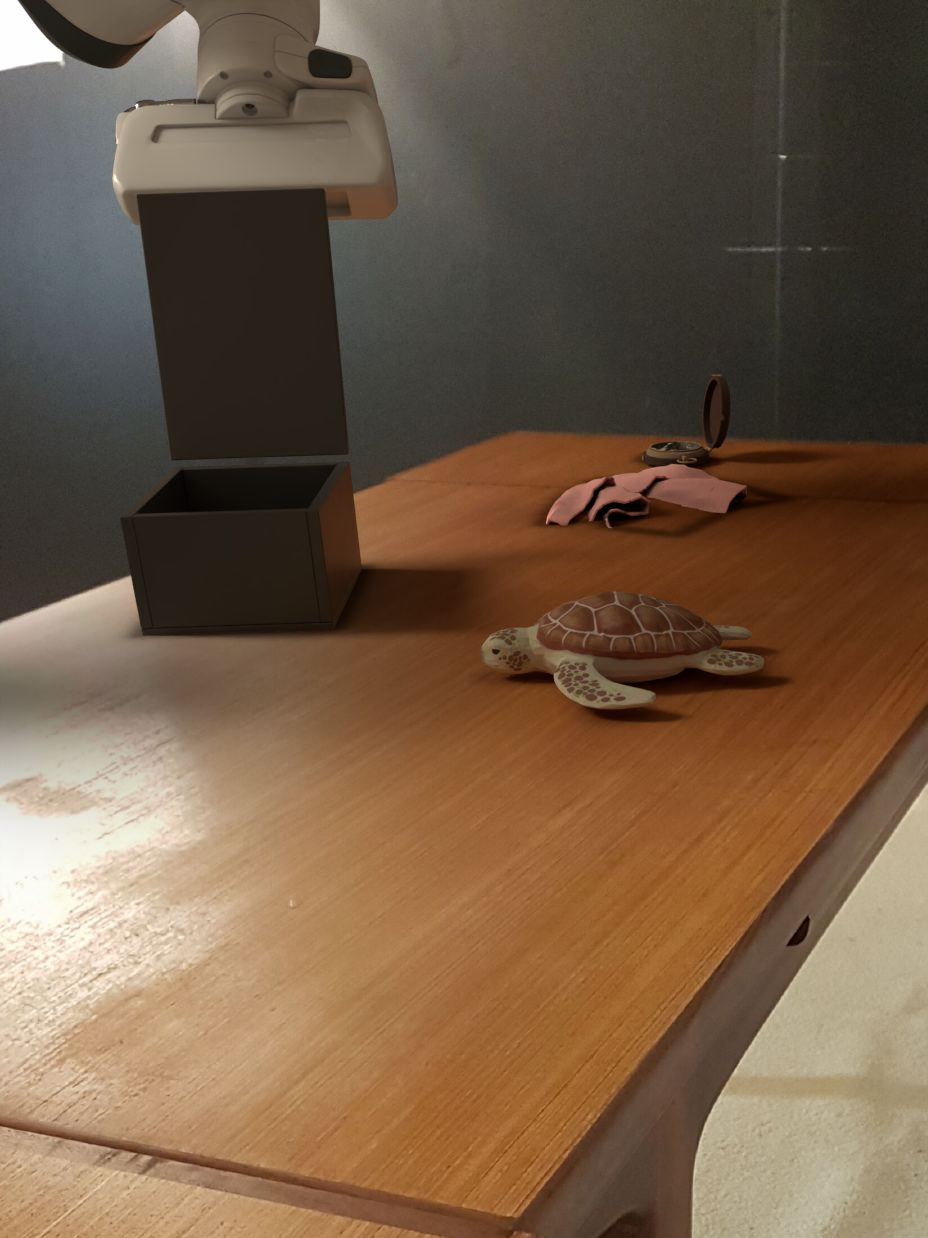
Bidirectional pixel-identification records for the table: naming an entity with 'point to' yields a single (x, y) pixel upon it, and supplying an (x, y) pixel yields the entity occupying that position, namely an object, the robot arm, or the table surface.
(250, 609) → the box
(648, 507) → the cloth
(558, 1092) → the table surface
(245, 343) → the box lid
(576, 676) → the decorative turtle
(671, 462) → the compass
